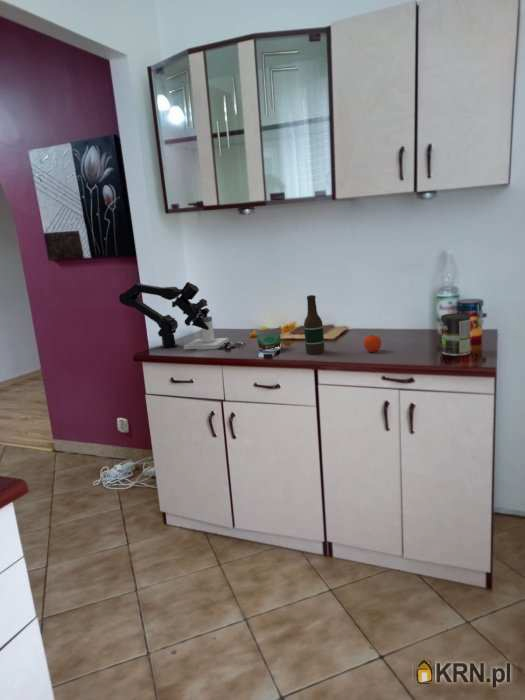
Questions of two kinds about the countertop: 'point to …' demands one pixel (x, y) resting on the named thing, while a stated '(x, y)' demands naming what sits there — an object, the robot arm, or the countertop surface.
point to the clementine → (372, 343)
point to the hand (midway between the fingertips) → (210, 328)
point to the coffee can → (455, 334)
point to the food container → (268, 338)
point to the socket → (206, 344)
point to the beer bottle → (313, 329)
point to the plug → (208, 334)
